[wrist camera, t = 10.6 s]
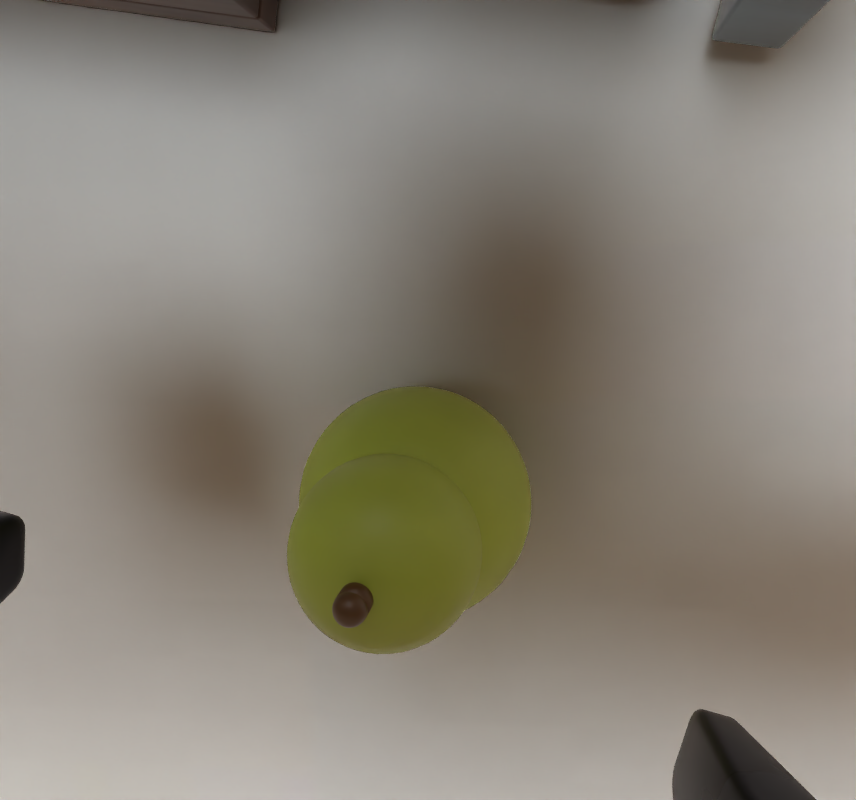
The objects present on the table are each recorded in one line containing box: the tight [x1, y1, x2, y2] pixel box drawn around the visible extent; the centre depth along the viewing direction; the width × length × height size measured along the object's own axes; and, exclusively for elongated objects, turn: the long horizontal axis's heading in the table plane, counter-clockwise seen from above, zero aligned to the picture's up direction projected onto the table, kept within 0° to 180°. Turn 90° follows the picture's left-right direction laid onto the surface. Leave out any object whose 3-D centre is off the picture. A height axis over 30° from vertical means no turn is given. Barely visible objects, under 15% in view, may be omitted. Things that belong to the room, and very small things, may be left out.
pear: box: [287, 386, 531, 654], centre depth 12 cm, size 5×5×7 cm
